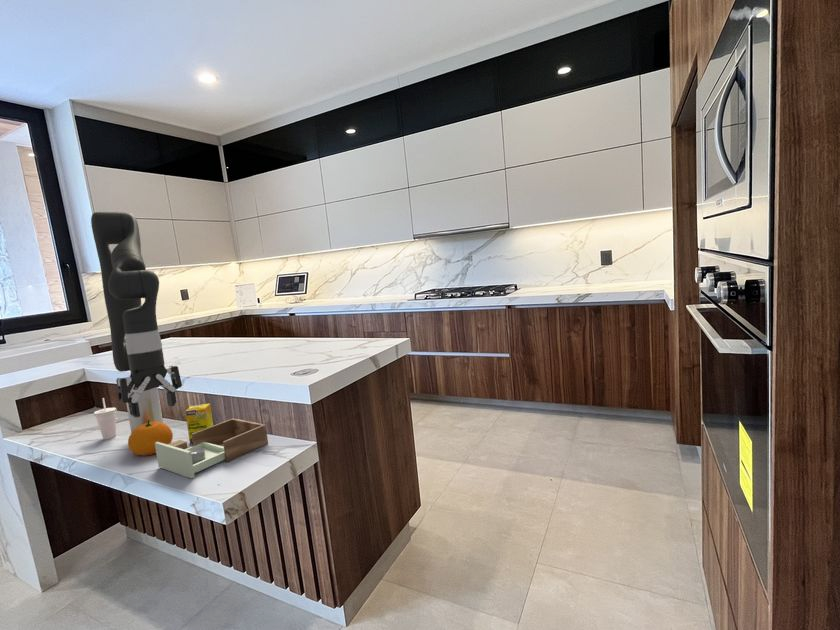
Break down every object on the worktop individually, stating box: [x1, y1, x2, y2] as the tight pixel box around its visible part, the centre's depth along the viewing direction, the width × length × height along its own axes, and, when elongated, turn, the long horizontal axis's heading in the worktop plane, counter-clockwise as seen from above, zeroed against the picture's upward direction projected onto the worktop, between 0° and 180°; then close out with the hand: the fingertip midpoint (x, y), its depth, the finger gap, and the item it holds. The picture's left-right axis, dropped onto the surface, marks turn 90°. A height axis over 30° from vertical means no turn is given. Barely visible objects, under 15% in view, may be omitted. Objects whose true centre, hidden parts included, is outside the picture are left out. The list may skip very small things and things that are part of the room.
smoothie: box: [93, 397, 118, 440], centre depth 147 cm, size 6×6×14 cm
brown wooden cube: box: [167, 439, 189, 450], centre depth 125 cm, size 4×4×4 cm
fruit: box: [127, 420, 174, 456], centre depth 131 cm, size 12×12×10 cm
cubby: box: [192, 418, 269, 463], centre depth 128 cm, size 17×14×6 cm
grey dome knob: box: [188, 448, 206, 465], centre depth 118 cm, size 6×6×2 cm
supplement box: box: [185, 403, 214, 444], centre depth 137 cm, size 6×6×11 cm
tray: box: [155, 442, 225, 479], centre depth 119 cm, size 17×13×7 cm
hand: (154, 411), depth 109 cm, fingers open, 8 cm apart
